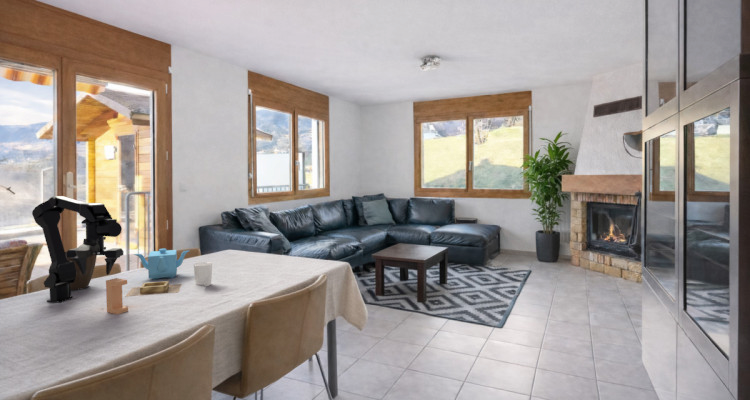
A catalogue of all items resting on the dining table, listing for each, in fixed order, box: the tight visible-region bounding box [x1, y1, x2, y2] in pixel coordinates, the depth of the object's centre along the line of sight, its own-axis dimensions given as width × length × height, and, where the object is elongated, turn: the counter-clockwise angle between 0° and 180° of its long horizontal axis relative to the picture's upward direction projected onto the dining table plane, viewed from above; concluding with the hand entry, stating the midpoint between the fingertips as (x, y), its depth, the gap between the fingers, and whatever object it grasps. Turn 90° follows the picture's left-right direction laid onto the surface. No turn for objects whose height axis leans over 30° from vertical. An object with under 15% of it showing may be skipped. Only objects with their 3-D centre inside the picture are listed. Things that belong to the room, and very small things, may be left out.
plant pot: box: [65, 251, 98, 291], centre depth 183 cm, size 15×15×16 cm
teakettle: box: [133, 248, 191, 280], centre depth 201 cm, size 19×19×15 cm
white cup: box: [193, 261, 213, 288], centre depth 189 cm, size 8×8×10 cm
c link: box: [105, 277, 129, 315], centre depth 152 cm, size 6×4×12 cm, turn 67°
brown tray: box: [125, 280, 183, 298], centre depth 177 cm, size 20×14×4 cm
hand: (95, 274), depth 160 cm, fingers open, 9 cm apart
